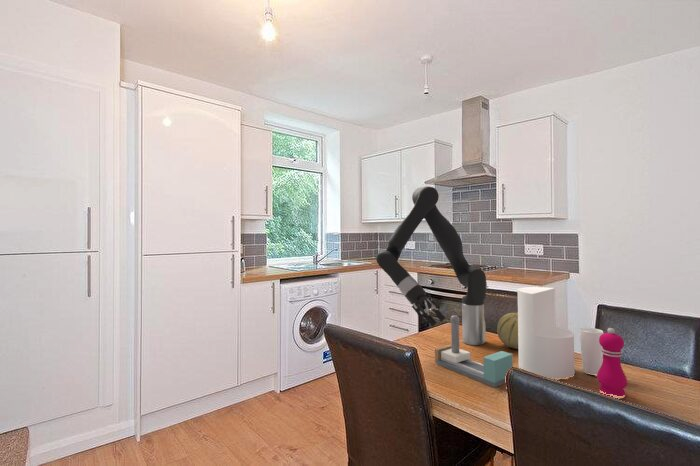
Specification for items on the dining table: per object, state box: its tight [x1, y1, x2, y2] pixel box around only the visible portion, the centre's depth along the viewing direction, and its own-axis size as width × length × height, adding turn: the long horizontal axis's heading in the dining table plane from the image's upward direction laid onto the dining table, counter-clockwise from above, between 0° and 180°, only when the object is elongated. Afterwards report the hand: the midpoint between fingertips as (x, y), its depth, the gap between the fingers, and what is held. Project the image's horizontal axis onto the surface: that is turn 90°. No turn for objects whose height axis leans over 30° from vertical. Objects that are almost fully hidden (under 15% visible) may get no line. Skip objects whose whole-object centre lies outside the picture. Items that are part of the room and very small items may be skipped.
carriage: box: [441, 314, 471, 363], centre depth 129 cm, size 8×7×16 cm
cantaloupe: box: [496, 312, 518, 350], centre depth 146 cm, size 15×15×15 cm
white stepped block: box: [517, 286, 576, 381], centre depth 123 cm, size 17×17×28 cm
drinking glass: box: [579, 327, 604, 374], centre depth 119 cm, size 7×7×15 cm
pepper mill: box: [596, 327, 628, 400], centre depth 104 cm, size 7×7×20 cm
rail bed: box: [434, 343, 514, 388], centre depth 123 cm, size 10×25×8 cm, turn 33°
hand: (439, 322), depth 132 cm, fingers open, 8 cm apart
